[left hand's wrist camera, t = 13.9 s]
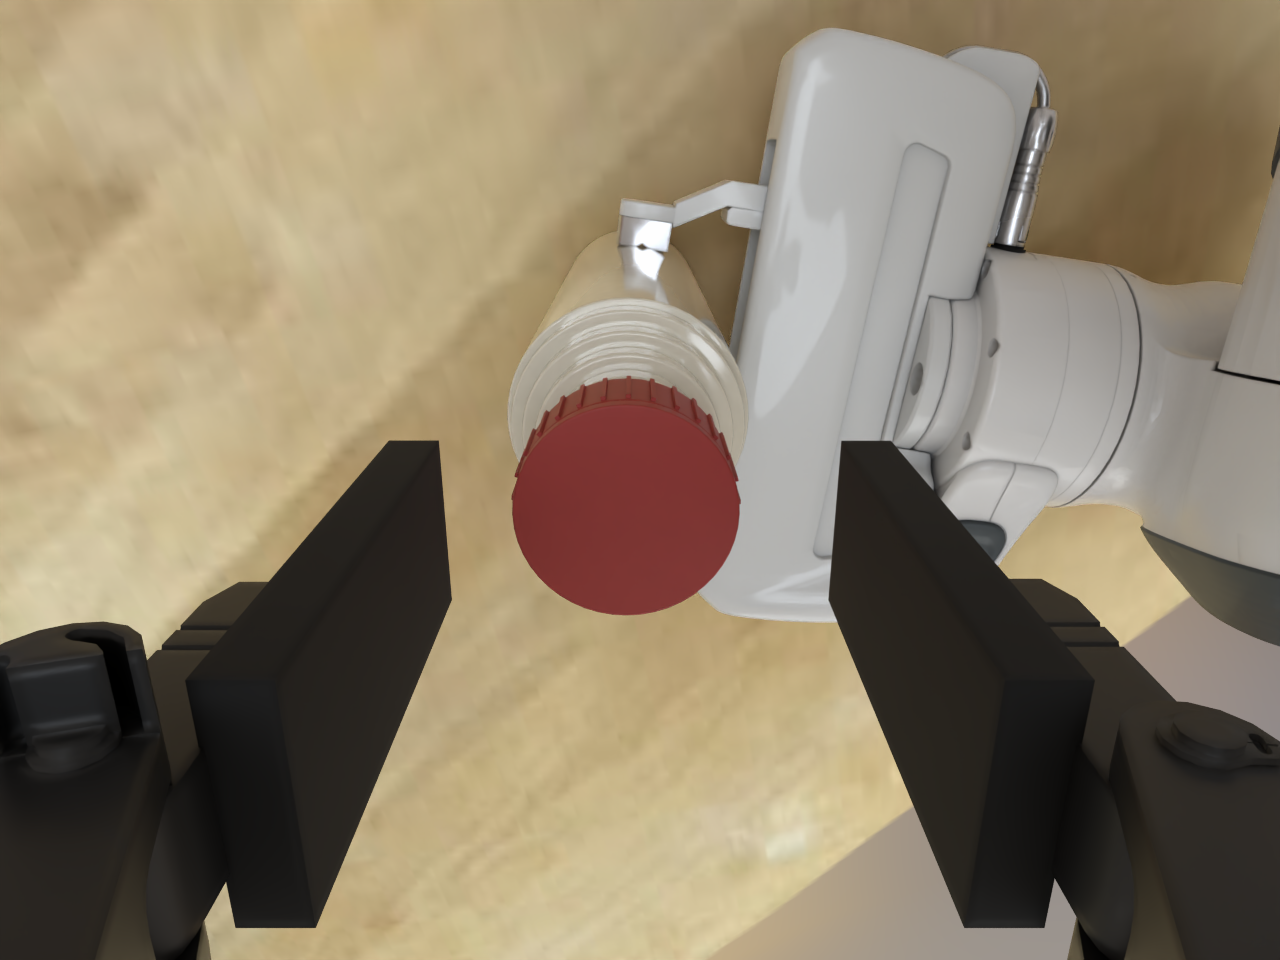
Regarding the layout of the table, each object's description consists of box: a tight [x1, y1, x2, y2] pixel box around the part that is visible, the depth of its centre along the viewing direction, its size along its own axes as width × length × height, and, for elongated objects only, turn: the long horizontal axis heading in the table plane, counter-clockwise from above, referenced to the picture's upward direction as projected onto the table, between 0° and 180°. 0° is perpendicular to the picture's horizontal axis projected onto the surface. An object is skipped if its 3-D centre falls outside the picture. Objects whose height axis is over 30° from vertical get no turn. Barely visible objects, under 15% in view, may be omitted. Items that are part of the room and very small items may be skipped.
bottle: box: [507, 231, 749, 467], centre depth 26 cm, size 5×5×24 cm
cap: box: [512, 376, 741, 615], centre depth 16 cm, size 4×4×2 cm
